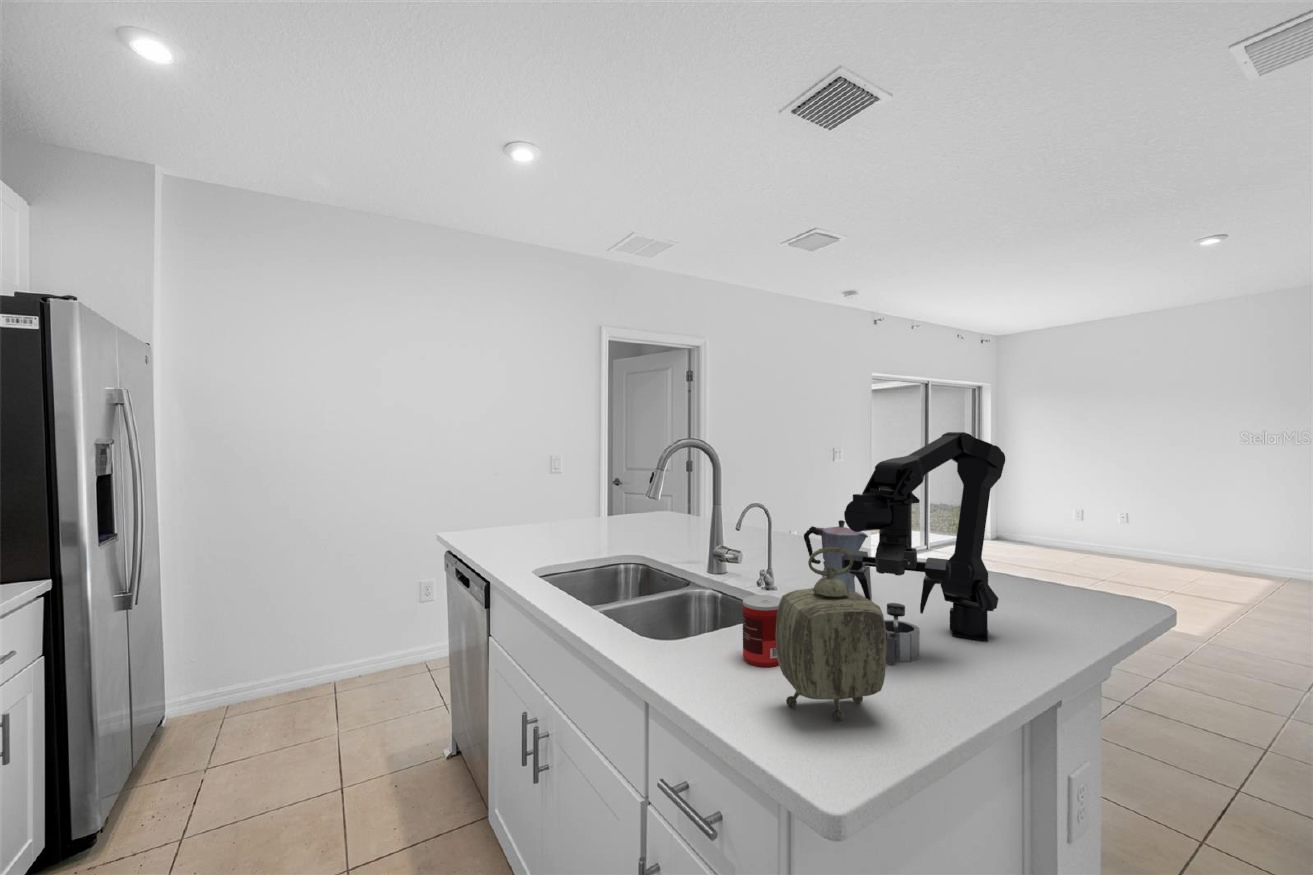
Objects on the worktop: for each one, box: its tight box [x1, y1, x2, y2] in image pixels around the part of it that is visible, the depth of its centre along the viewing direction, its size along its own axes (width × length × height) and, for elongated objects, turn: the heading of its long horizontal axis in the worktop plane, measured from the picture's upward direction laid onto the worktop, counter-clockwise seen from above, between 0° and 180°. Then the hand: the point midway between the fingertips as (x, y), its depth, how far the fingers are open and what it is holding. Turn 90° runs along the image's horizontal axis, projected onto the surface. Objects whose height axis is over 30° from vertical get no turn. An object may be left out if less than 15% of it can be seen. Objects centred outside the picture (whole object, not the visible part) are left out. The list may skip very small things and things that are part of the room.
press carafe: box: [884, 619, 921, 666], centre depth 110 cm, size 8×11×5 cm
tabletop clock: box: [776, 547, 887, 722], centre depth 87 cm, size 14×9×25 cm, turn 97°
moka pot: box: [803, 519, 869, 592], centre depth 146 cm, size 10×15×20 cm, turn 78°
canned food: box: [742, 594, 782, 668], centre depth 108 cm, size 8×8×11 cm
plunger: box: [886, 602, 906, 633], centre depth 111 cm, size 5×5×8 cm
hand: (895, 609), depth 111 cm, fingers open, 9 cm apart
